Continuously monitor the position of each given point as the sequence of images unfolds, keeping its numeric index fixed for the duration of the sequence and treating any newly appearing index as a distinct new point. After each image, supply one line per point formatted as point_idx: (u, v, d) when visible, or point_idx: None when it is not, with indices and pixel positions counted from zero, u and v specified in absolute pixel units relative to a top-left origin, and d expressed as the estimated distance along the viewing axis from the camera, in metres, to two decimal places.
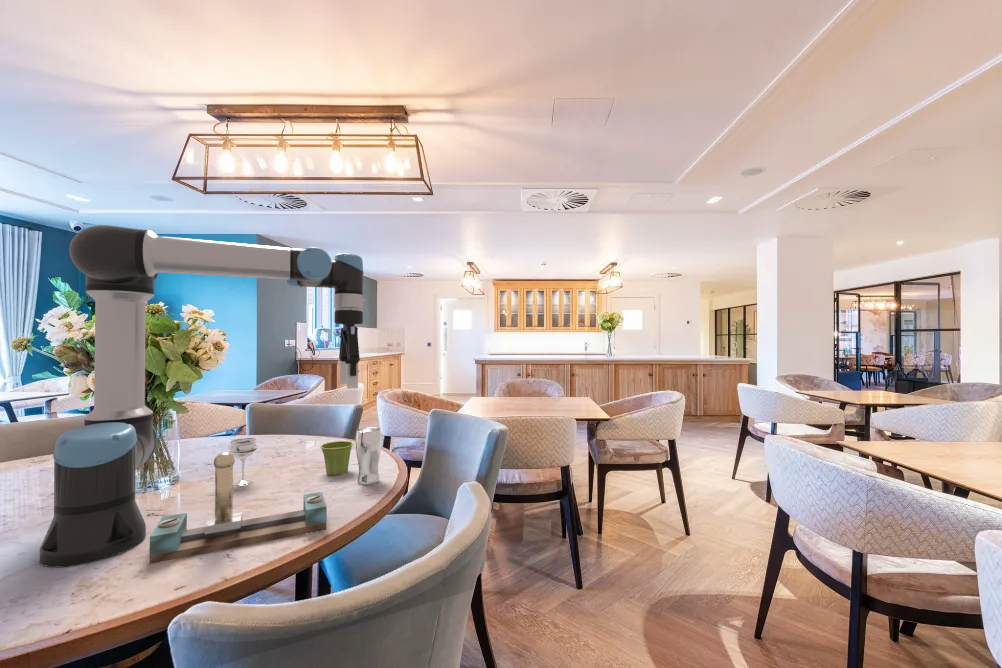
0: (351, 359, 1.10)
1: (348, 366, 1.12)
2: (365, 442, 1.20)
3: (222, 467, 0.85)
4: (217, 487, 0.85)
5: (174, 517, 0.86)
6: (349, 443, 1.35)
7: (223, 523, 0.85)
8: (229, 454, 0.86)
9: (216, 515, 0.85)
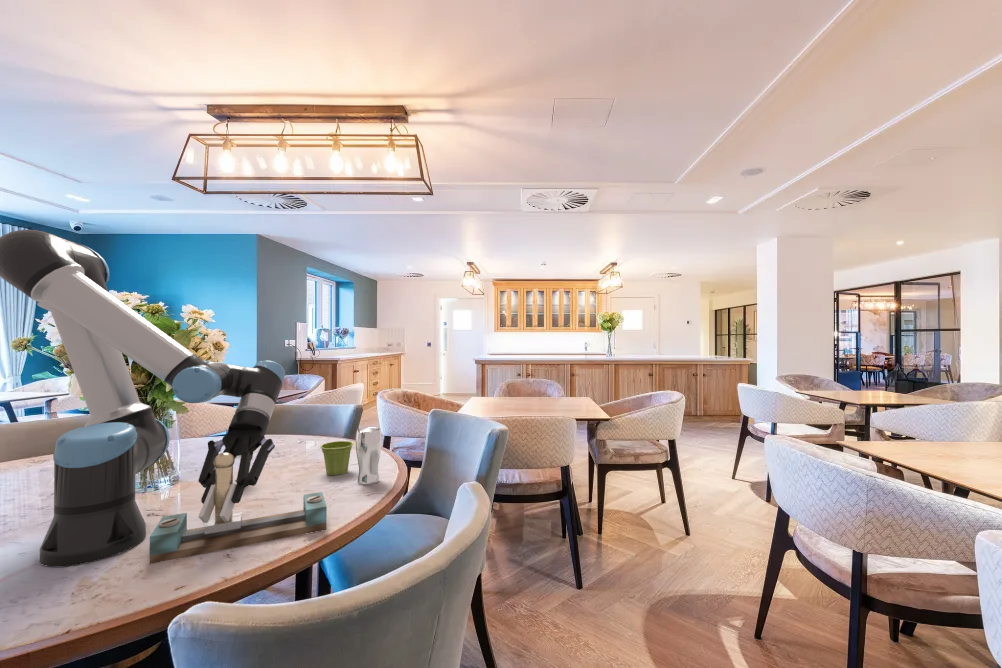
0: (253, 478, 0.88)
1: (234, 487, 0.86)
2: (365, 442, 1.20)
3: (222, 467, 0.85)
4: (217, 487, 0.85)
5: (174, 517, 0.86)
6: (349, 443, 1.35)
7: (223, 523, 0.85)
8: (229, 454, 0.86)
9: (216, 515, 0.85)
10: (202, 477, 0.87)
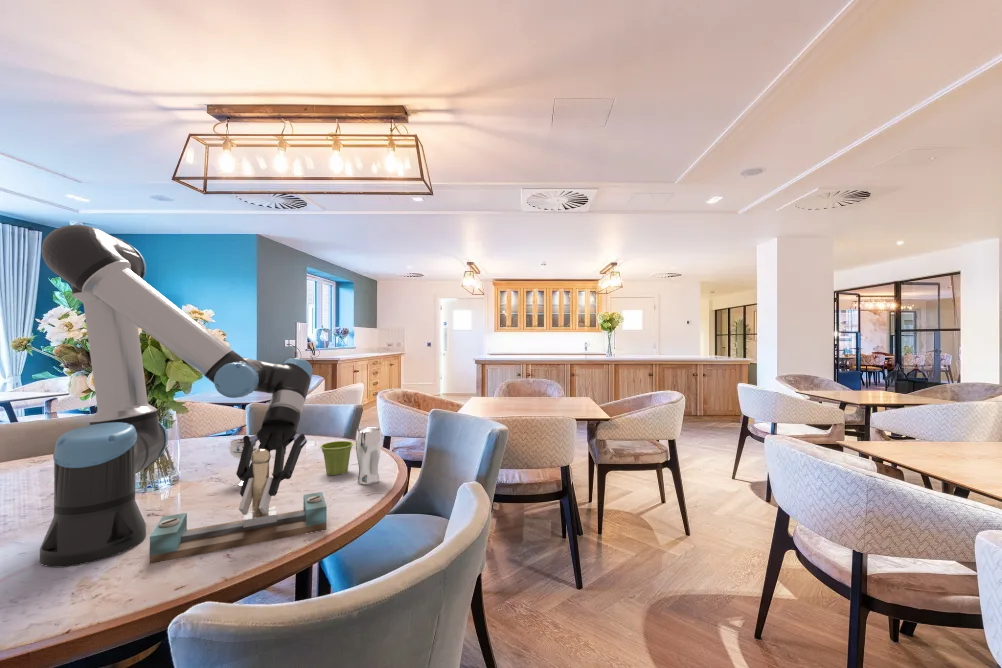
0: (288, 472, 0.91)
1: (271, 480, 0.89)
2: (365, 442, 1.20)
3: (259, 463, 0.88)
4: (255, 482, 0.88)
5: (174, 517, 0.86)
6: (349, 443, 1.34)
7: (260, 516, 0.88)
8: (266, 450, 0.89)
9: (254, 509, 0.88)
10: (240, 471, 0.90)
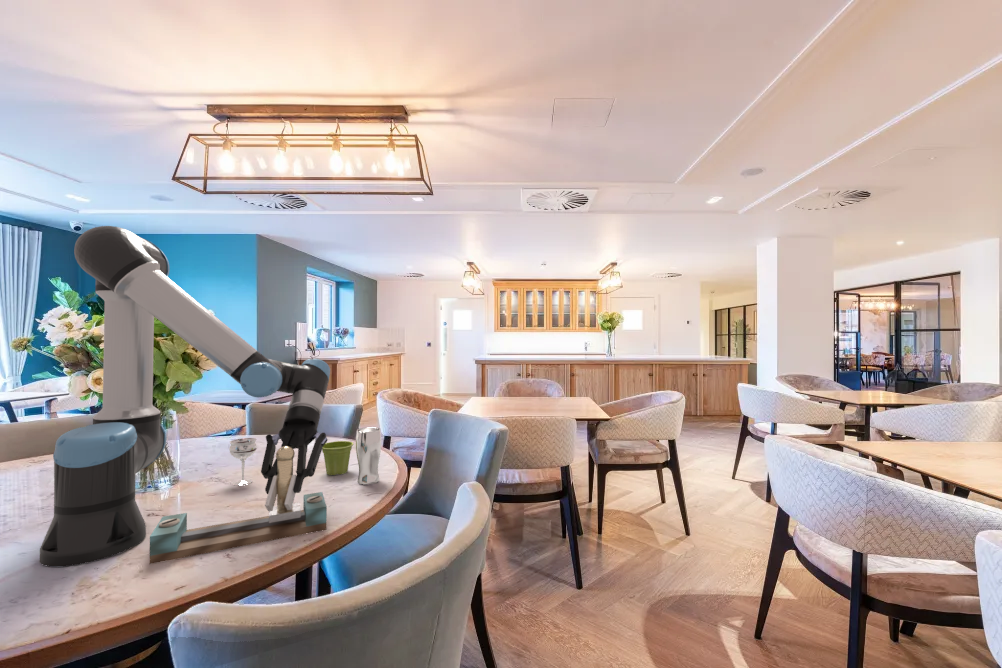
0: (311, 469, 0.93)
1: (295, 478, 0.91)
2: (365, 442, 1.20)
3: (284, 460, 0.90)
4: (279, 479, 0.90)
5: (174, 517, 0.86)
6: (349, 443, 1.35)
7: (285, 512, 0.90)
8: (290, 448, 0.92)
9: (279, 505, 0.90)
10: (264, 468, 0.92)
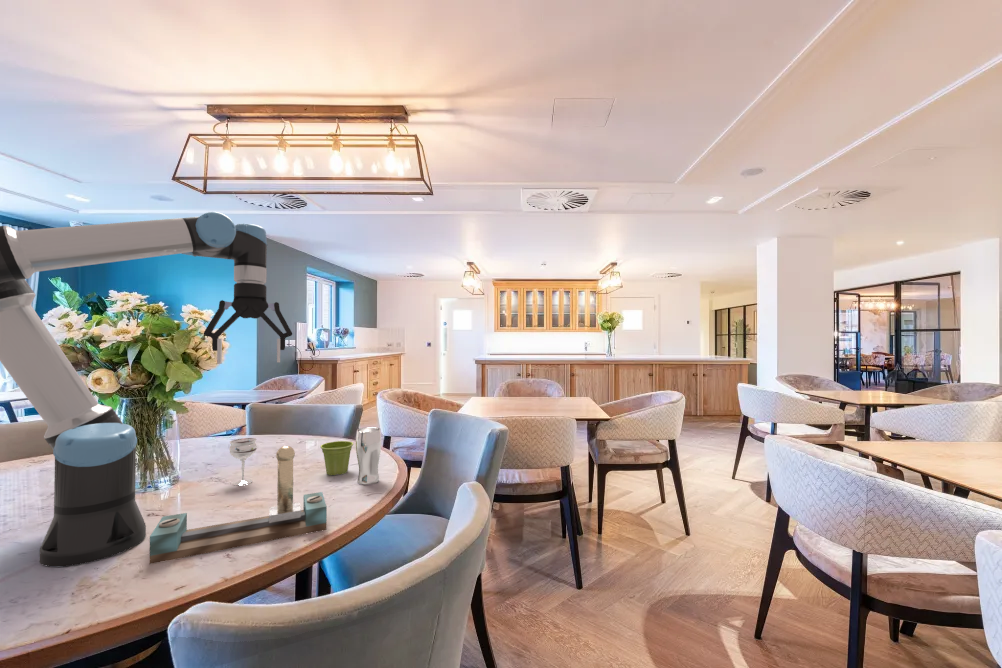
0: None
1: (280, 341, 1.16)
2: (365, 442, 1.20)
3: (284, 460, 0.90)
4: (280, 479, 0.90)
5: (174, 517, 0.86)
6: (349, 443, 1.35)
7: (285, 512, 0.90)
8: (290, 447, 0.92)
9: (279, 505, 0.90)
10: (207, 332, 1.08)
